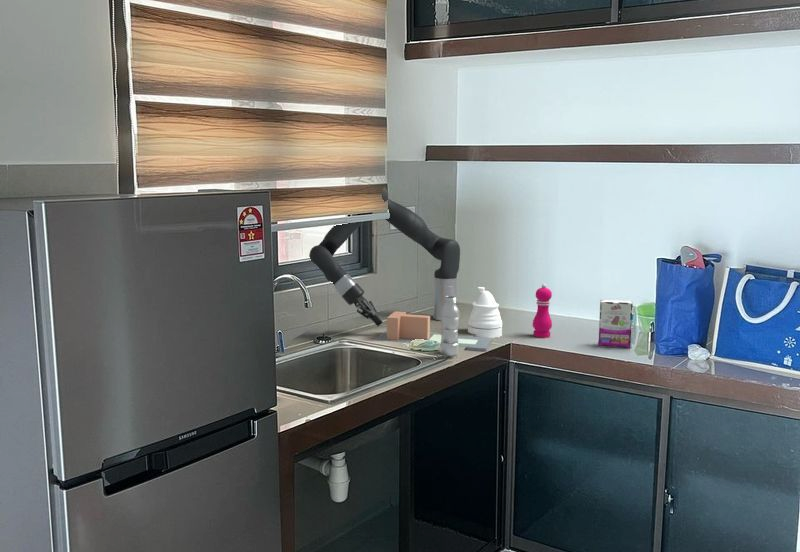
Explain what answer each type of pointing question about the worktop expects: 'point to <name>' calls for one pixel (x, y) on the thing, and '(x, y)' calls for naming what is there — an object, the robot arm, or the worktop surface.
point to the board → (463, 341)
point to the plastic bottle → (449, 328)
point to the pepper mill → (542, 313)
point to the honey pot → (485, 316)
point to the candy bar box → (615, 323)
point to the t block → (408, 326)
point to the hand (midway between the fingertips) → (380, 324)
